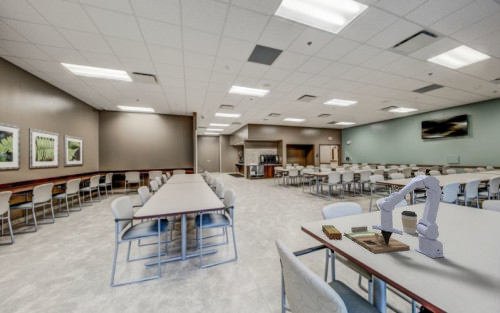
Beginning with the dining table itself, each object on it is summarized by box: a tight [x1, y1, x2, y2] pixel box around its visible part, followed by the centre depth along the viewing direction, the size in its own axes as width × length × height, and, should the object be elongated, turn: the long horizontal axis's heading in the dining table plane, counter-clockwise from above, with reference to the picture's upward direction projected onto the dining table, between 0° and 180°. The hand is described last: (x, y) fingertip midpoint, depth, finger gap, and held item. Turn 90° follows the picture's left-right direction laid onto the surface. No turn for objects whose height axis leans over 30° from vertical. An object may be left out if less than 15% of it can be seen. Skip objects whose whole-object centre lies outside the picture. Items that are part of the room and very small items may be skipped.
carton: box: [321, 224, 343, 240], centre depth 133 cm, size 8×16×4 cm, turn 176°
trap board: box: [343, 225, 411, 254], centre depth 120 cm, size 26×24×5 cm
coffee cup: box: [400, 210, 418, 235], centre depth 135 cm, size 9×9×15 cm
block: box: [375, 231, 385, 244], centre depth 115 cm, size 5×5×5 cm
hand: (387, 243), depth 110 cm, fingers closed
